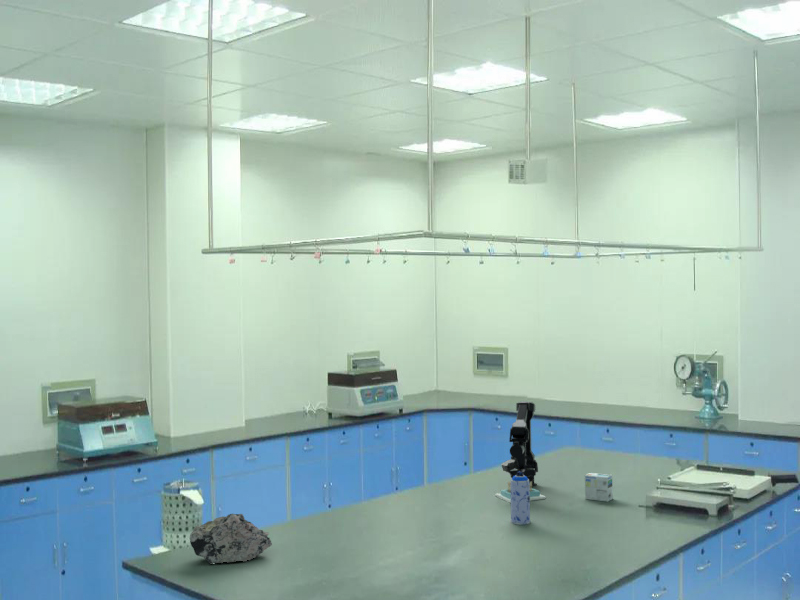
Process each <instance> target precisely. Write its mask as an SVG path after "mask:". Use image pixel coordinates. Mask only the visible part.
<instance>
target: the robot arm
mask: <svg viewBox="0 0 800 600" xmlns="http://www.w3.org/2000/svg"><path fill="white" fill-rule="evenodd" d="M515 406H516V408H515V410H516V412H517V413H516V414H517V415H516V419H515V421H514V422H513V423H512V425H511V427H510V429H509V440H508V441H509V443H512V444H511V447H510V448H509V454H510V459H508V460H506V461H504V462H502V463H501V464H500V466H501V468H502V470H503V472H506V473H508V474H509V475H510V479H512V478H513V476H515V475H517V472H519V471H522V472H523V475H524V476H526V477H527V478H528V479H529V482H531V481H532V486H537V485H538V483H536V482H535V477H536V475H537V473H538V472H539V466H538V462H537V460H536V456H535V454H534V453H533V450H532V419H533V417H534V415H535V413H536V403H533V401H518V402H516V405H515Z"/></svg>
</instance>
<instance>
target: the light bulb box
mask: <svg viewBox="0 0 800 600" xmlns="http://www.w3.org/2000/svg"><path fill="white" fill-rule="evenodd" d="M613 487H614V486H613V474H604V473H595V472H589V473H586V474H585V475H584V492H585V493H584V498H585V500H591V501H601V502H609V501H611V500H613V498H614V491H613V489H614V488H613Z"/></svg>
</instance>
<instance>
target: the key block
mask: <svg viewBox="0 0 800 600" xmlns="http://www.w3.org/2000/svg"><path fill="white" fill-rule="evenodd" d="M532 488H533V485H532V481H531V482H530V491H532ZM507 489H508V492H510V493H511V481H508V482H507Z"/></svg>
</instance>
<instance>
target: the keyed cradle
mask: <svg viewBox="0 0 800 600" xmlns="http://www.w3.org/2000/svg"><path fill="white" fill-rule="evenodd" d="M494 496H495V497H497V498H498V499H501V500H503V501H505V502H507V503H510V504H511V493H510V492H508V488H507V489H500V492H499V493H495V494H494ZM546 498H547V497H546V496H545V495H543V494H541V491H540V490H538V489H535V488H533V487H532V491H530V501H537V500H546Z"/></svg>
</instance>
